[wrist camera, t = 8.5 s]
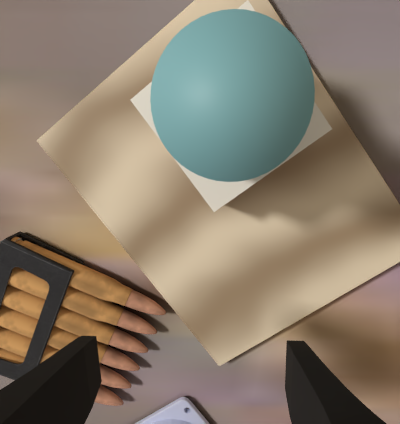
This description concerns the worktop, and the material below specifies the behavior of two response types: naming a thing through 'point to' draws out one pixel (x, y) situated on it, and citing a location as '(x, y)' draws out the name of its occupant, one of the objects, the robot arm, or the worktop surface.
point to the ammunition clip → (65, 312)
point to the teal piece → (232, 95)
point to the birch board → (228, 210)
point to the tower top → (226, 191)
